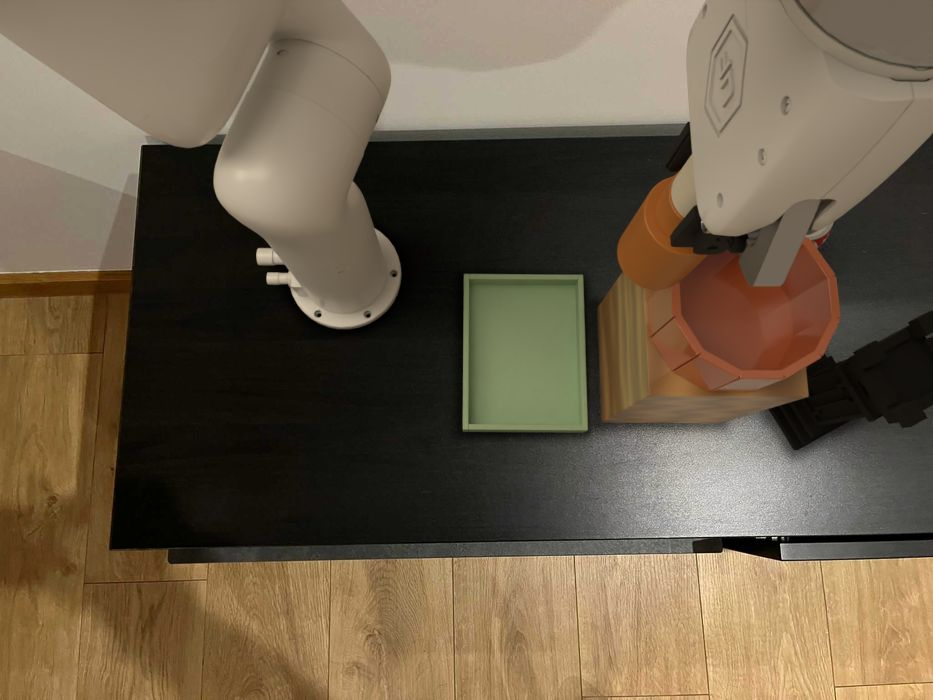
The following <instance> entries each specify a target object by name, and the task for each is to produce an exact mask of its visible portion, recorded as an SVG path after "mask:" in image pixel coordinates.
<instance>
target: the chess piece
mask: <svg viewBox="0 0 933 700" xmlns="http://www.w3.org/2000/svg"><path fill="white" fill-rule="evenodd" d="M907 324H908V325H906V326H904V327H903V328H901V329H899V330H897V331H895V332H893V333H892V334H890V335H888V336H886V337H884V338H882V339H880V340H875V341H871V342H869V343H866V344H865V345H863V346H861V347H859V348H857V349H856V350H854V351H852V353H853V354H852V355H851V356H848V357H847V358H846V359H844V360H841V361H838V362H836V360H835V359H834V357H833V356H832V355H829V356H827V355H826V353H824V355H823V356H821V358H820V359H819V360H817V361H815V362H814V363H812V364H810V365H808V366H807V367H806V373H807V384H808V394H809V397H806V398H803V399H800V400H796V401H793V402H789V403H786V404H783V405H779V406H776V407H773V408H769V409H768V411H769V413H770V414H771V416H772V417H773V419H774V421H775V422H776V424H777V425H778V427H779V429H780V430H781V432H782V434H783V435H784V437H785V439H786V440H787V442H788V444H789V446H791V448H792V450H793V452H795V451H799V450H801V449H803V448H804V447H806V446H808V445H809V444H811V443H813V442H816V441H817V440H819V439H820V438H822V437H824V436H826V435H827V434H828V435H829V433H832V432H833V431H835V430H837V429H839V428H840V427H843V426H844V425H846V424H847V423H850V422H851V421H853V420H858V419H863V418H865V419H866V420H867V422H868V423H871V422H875V421H877V420H879V419H880V418H882V417H883V419H885V421H886V422H887V424H888V425H892V424H899V425H900V426H899V427H901V429H905V428H911V427H914V426H915V425H917V424H919V423H921V422H923V421H924V420H927V419H928V415H927V414H926V412H925V410H927V409H929V408H930V407H933V336H930V335H931V334H933V309H932V310H929V311H927V312H924V313H922V314H920V315H918V316H917V317H915V318H913V319H911V320H909V321H908V322H907ZM927 336H930V337H927Z"/></svg>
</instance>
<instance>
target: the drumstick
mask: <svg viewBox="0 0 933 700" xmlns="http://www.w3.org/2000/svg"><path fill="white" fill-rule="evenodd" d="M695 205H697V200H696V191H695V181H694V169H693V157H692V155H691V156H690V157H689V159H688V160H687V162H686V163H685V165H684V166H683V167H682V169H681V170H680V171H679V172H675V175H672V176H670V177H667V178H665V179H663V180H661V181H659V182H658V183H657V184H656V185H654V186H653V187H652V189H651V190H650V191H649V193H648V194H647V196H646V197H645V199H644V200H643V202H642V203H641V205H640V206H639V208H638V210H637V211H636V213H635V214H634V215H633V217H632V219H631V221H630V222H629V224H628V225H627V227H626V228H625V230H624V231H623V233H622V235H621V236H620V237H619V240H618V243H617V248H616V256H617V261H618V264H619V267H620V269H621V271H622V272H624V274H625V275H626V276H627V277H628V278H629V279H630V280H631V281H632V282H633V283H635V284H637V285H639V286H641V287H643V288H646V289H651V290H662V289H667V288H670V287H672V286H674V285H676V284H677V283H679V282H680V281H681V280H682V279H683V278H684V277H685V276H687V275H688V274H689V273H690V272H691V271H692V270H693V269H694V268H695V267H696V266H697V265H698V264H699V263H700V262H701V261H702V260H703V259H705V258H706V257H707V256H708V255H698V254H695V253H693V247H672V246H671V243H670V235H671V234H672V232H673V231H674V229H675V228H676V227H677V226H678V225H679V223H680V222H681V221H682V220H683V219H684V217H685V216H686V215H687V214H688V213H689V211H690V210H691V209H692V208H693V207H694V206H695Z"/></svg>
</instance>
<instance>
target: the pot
mask: <svg viewBox="0 0 933 700" xmlns="http://www.w3.org/2000/svg"><path fill="white" fill-rule="evenodd" d="M739 258H740V257H739V255H738V253H730V252H729V251H728V249H727V250H726V251H724V252H722V253H719V254H714V255H708V256H707V257H706V258H705V259H703V260H702V261H701V262H700V263H699V264H698V265H697V266H696V267H695V268H694V269H693V270H692V271H691V272H690V273H689V274H688V275H687V276H685V277H684V278H683V279H682V280H681V281H680V282H679V283H677V284H676V285H674V286H672V287H670V288H667V289H662V290H653V291H652V292H651V294H650V296H649V300H648V308H649V327H650V337H651V340H652V341H653V343H654V344H655V346H656V348H657V349H658V351H659V352H660V354H661V355H662V357H663V358H664V360H665V362H666V363H667V365H668V366H669V368H670V369H671V371H673V370H674V371H673V373H675V374H677V375H678V376H680V377H682V378H684V379H686V380H687V381H689V382H691V383H693V384H695V385H696V386H698V387H700V388H702V389H703V390H705V391H707V392H708V391H710V392H728V393H748V392H752V391H755V390H757V389H760V388H763V387H765V386H768V385H771V384H773V383H776V382H779V381H781V380H784V379H787V378H788V377H790V376H792V375H793V374H795V373H797V372H798V371H800V370H802V369H803V368H805V367H807V366H808V365H810V364H812V363H814V362H815V361H817V360H819V359H820V358H821V356H823V355H824V354H826V351H827V349H828V347H829V345H830V342H831V340H832V339H833V336H834V334H835V332H836V330H837V328H838V326H839V325H840V322H841V318H842V317H841V308H840V306H841V305H840V296H839V289H838V281H837V280H838V279H837V276H836V273H835V272H834V271H833V269H832V267H831V266H830V265H829V264H828V262H827V260H826V259H825V258H824V257H823V255H822V254H821V252H820V251H819V249H818V248H816V247H815V245H814V244H813V242H812V241H811V240H810V241H809V238H807V237H805V238H804V240H803V242H802V244H801V247H800V249H799V251H798V253H797V255H796V257H795V260H794V262H793V264H792V266H791V268H790V270H789V273H788V275H787V277H786V279H785V281H784V283H783V285H782V286H780V287H751V286H749V285H748V283H747V280H746V278H745V276H744V274H743V271H742V269H741V267H740V264H739V262H738V260H739Z"/></svg>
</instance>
